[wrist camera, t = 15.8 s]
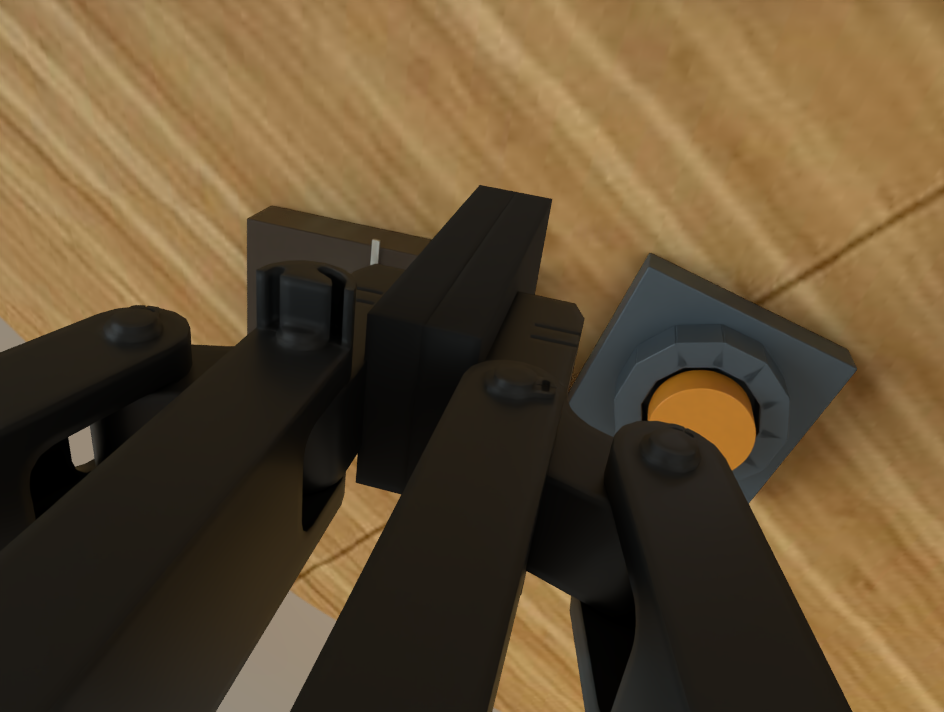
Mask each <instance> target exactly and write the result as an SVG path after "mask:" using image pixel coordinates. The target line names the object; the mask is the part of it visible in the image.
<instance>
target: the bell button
mask: <svg viewBox="0 0 944 712" xmlns="http://www.w3.org/2000/svg"><path fill="white" fill-rule="evenodd" d="M648 421H661V422H666V423H674V424H677V425H681V426H684V428H686V429H687V428H688V429H691V430H693V431H695V432H696V433H698V434H700V435H701V436H703V437H704V438H706V439H707V440H708V441H710V442H711V443H713V444H714V445H715V446H716V447H717V448H718V449H719V451H720V452H721V453H722V454H723V456H724V457H725V458H726V460H727V462H728V464H729V466H730V468H731V470H734V469H735V468H737V467H738V466H739V465H741V464H742V463H743V462H744V461H745V460H746V459H747V457H748V456H749V455H750V453H751V451H752V449H753V447H754V444H755V440H756V427H755V422H754V417H753V411H752V406H751V402H750V400H749V397H748V396H747V394H746V392H745V391H744V390H743V388H742V387H741V386H740V385H739V384H738V383H736V382H735V381H734V380H732V379H731V378H729V377H727V376H725V375H723V374H720V373H717V372H714V371H708V370H691V371H686V372H682V373H679V374H677V375H674V376H672V377H671V378H669V379H667V380H666V381H665V382H663V383H662V384H661V385H660V386H659V387H658V388H657V390H656V391H655V392H654V394H653V396H652V398H651V400H650V403H649V407H648Z"/></svg>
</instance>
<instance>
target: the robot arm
mask: <svg viewBox="0 0 944 712" xmlns="http://www.w3.org/2000/svg"><path fill="white" fill-rule="evenodd" d="M551 203H552V199H549V198H544V197H539V196H534V195H529V194H524V193H518V192H513V191H508V190H503V189H498V188H493V187H487V186H482V185H479V187H478V188H477V189H476V190H475V191H474V192H473V193H472V195H471V196H470V197H469V198H468V199H467V200H466V201H465V202H464V204H463V205H462V206H461V207H460V208H459V209H458V210H457V212H456V213H455V214H454V215H453V216H452V217H451V218H450V220H449V221H448V222H447V223H446V224H445V225H444V226H443V228H442V229H441V230H440V231H439V232H438V233H437V234H436V236H435V237H434V238H433V239H432V240H431V241H430V242H429V244H428V245H427V246H426V247H425V248H424V249H423V250H422V252H421V253H420V254H419V255H418V256H417V257H416V258H415V260H414V261H413V262H412V263H411V264H410V265H409V266H408V268H407V269H406V270H404V269H400V268H395V267H390V266H386V265H381V264H376V263H375V264H372V265H370V266H367V267H364V268H361V269H359V270H356V271H353V272H352V273H351V274H350V273H349V272H347V271H345V270H344V269H342V268H340V267H337V266H334V265H330V264H327V263H323V262H315V261H308V260H292V261H281V262H276V263H271V264H267V265H265V266H263V267H261V268H259V269H257V270H256V314H257V327H256V328H255V329H254V330H253V331H252V332H250V333H249V334H248V335H247V336H246V337H245V338H244V339H242V340H241V341H240V342H239V343H238V344H237V345H236V346H209V345H191V332H190V326H189V324H188V322H187V320H186V319H185V318H184V317H182V316H180V315H179V314H177V313H176V312H173V311H169V310H165V309H161V308H159V307H154V306H147V307H145V305H134V306H131V307H128V308H118V309H114V310H110V311H106V312H103V313H99V314H96V315H94V316H91V317H89V318H86V319H84V320H81V321H79V322H76V323H74V324H71V325H69V326H66V327H64V328H61V329H58V330H56V331H53V332H51V333H48V334H46V335H43V336H41V337H38V338H36V339H33V340H31V341H28V342H26V343H23V344H21V345H18V346H16V347H13V348H11V349H8V350H5V351H3V352H0V712H216V710H217V709H218V707H219V705H220V704H221V702H222V700H223V699H224V697H225V695H226V694H227V692H228V691H229V689H230V687H231V686H232V684H233V682H234V681H235V679H236V677H237V676H238V674H239V672H240V671H241V669H242V667H243V666H244V664H245V662H246V661H247V659H248V658H249V656H250V654H251V653H252V651H253V649H254V648H255V646H256V644H257V643H258V641H259V639H260V638H261V636H262V634H263V633H264V631H265V630H266V628H267V626H268V625H269V623H270V621H271V620H272V618H273V616H274V615H275V613H276V611H277V610H278V608H279V606H280V605H281V603H282V602H283V600H284V598H285V597H286V595H287V593H288V592H289V590H290V588H291V587H292V585H293V583H294V582H295V580H296V578H297V577H298V575H299V573H300V572H301V570H302V569H303V567H304V565H305V564H306V562H307V560H308V559H309V557H310V555H311V554H312V552H313V550H314V549H315V547H316V545H317V544H318V542H319V541H320V539H321V537H322V536H323V534H324V532H325V531H326V529H327V527H328V526H329V524H330V522H331V521H332V519H333V517H334V516H335V514H336V513H337V511H338V509H339V508H340V506H341V504H342V500H343V497H344V493H345V476H346V470H347V469H348V467H349V466H350V464H351V463H352V461H353V460H354V458H355V456H356V455H357V453H358V458H357V472H356V483H359V484H363V485H367V486H371V487H375V488H379V489H383V490H387V491H390V492H394V493H398V494H402V495H401V497H400V499H399V500H398V502H397V504H396V506H395V508H394V510H393V512H392V514H391V516H390V518H389V520H388V522H387V524H386V526H385V528H384V530H383V532H382V534H381V536H380V537H379V539H378V541H377V543H376V545H375V547H374V549H373V551H372V553H371V555H370V557H369V559H368V561H367V563H366V565H365V567H364V569H363V571H362V573H361V574H360V576H359V578H358V580H357V582H356V584H355V586H354V588H353V590H352V592H351V594H350V596H349V598H348V600H347V602H346V604H345V606H344V608H343V610H342V611H341V613H340V615H339V617H338V619H337V621H336V623H335V626H334V627H333V629H332V631H331V633H330V635H329V637H328V639H327V641H326V643H325V645H324V647H323V649H322V650H321V652H320V654H319V656H318V658H317V660H316V662H315V664H314V666H313V668H312V670H311V672H310V674H309V676H308V678H307V680H306V682H305V684H304V685H303V687H302V689H301V691H300V693H299V695H298V697H297V699H296V701H295V703H294V705H293V707H292V709H291V711H290V712H492V710H493V706H494V702H495V698H496V694H497V690H498V685H499V681H500V677H501V673H502V669H503V665H504V661H505V656H506V652H507V648H508V644H509V640H510V636H511V632H512V627H513V623H514V619H515V615H516V611H517V607H518V603H519V598H520V595H521V593H522V589H523V584H524V580H525V575H526V571H528V572H530V573H531V574H533V575H535V576H537V577H539V578H540V579H542V580H544V581H546V582H548V583H549V584H551V585H553V586H555V587H556V588H558V589H560V590H562V591H564V592H565V593H567V594H569V595H571V603H570V616H571V622H572V629H573V635H574V642H575V648H576V655H577V661H578V668H579V674H580V681H581V687H582V694H583V700H584V707H585V712H852V710H851V708H850V706H849V704H848V702H847V700H846V698H845V696H844V694H843V692H842V690H841V688H840V686H839V684H838V682H837V680H836V678H835V676H834V674H833V672H832V670H831V668H830V666H829V664H828V662H827V660H826V658H825V656H824V654H823V652H822V650H821V648H820V646H819V644H818V642H817V640H816V638H815V636H814V634H813V632H812V630H811V628H810V626H809V624H808V622H807V620H806V618H805V616H804V614H803V612H802V610H801V608H800V606H799V604H798V602H797V600H796V598H795V596H794V594H793V592H792V590H791V588H790V586H789V584H788V582H787V580H786V578H785V576H784V574H783V572H782V570H781V568H780V566H779V564H778V562H777V560H776V558H775V556H774V554H773V552H772V550H771V548H770V546H769V544H768V542H767V540H766V538H765V536H764V534H763V532H762V530H761V528H760V526H759V524H758V522H757V520H756V518H755V516H754V514H753V512H752V510H751V508H750V506H749V504H748V502H747V500H746V498H745V496H744V494H743V492H742V490H741V488H740V486H739V484H738V482H737V480H736V478H735V476H734V474H733V472H732V470H731V468H730V466H729V464H728V462H727V460H726V458H725V457H724V456H723V454H722V453H721V452H720V451H719V449H718V448H717V447H716V446H715V445H714V444H713V443H711V442H710V441H708V440H707V439H706V438H704V437H703V436H701V435H700V434H698V433H696V432H695V431H693V430H691V429H688V428H687V429H686V428H684V426H681V425H677V424H674V423H666V422H661V421H636V422H633V423H630V424H627V425H624V426H622V427H621V428H620V429H619V430H618V431H617V432H616V434H615V435H614V437H613V436H610V435H608V434H606V433H604V432H602V431H600V430H598V429H596V428H594V427H592V426H590V425H589V424H587V423H586V422H585V421H584V420H582V419H581V418H580V417H578V416H577V414H576V413H575V412H574V411H573V410H572V409H571V407H570V405H569V403H568V400H567V395H568V391H569V386H570V382H571V377H572V373H573V368H574V364H575V359H576V355H577V350H578V346H579V341H580V337H581V333H582V328H583V324H584V317H583V315H582V314H581V312H580V310H579V309H578V307H577V305H576V304H575V303H570V302H566V301H561V300H556V299H551V298H547V297H542V296H537V295H535V290H536V284H537V279H538V274H539V268H540V263H541V257H542V252H543V246H544V241H545V236H546V230H547V225H548V219H549V214H550V209H551ZM88 426H90V429H91V437H92V443H93V450H94V458H95V459H93V460H91V461H89V462H88V463H86V464H83V465H79V466H76V467H75V466H74V464H73V462H72V459H71V452H70V446H69V440H68V437H69V436H71V435H73V434H74V433H77V432H78V431H80V430H82V429H84V428H86V427H88Z"/></svg>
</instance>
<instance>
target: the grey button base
mask: <svg viewBox="0 0 944 712" xmlns="http://www.w3.org/2000/svg"><path fill="white" fill-rule="evenodd" d="M691 370H708V371H714V372H717V373H720V374H723V375H725V376H727V377H729V378H731V379H732V380H734V381H735V382H736V383H738V384H739V385H740V386H741V387H742V388H743V390H744V391H745V392H746V394H747V396H748V397H749V400H750V402H751V406H752V411H753V417H754V422H755V427H756V440H755V444H754V447H753V449H752V451H751V453H750V455H749V456H748V457H747V459H746V460H745V461H744V462H743V463H742V464H741V465H739V466H738V467H737V468H735V469H734V470H732V472H733V474H734V476H735V478H736V480H737V482H738V484H739V486H740V488H741V490H742V492H743V494H744V496H745V498H746V500H747V502H748V504H749V503H750V501H751V500H752V499H753V498H754V496H755V495H756V494H757V493H758V491H759V490H760V489H761V488H762V486H763V485H764V484H765V483H766V482H767V480H768V479H769V478H770V477H771V475H772V474H773V473H774V472H775V470H776V469H777V468H778V467H779V465H780V464H781V463H782V462H783V461H784V459H785V458H786V457H787V456H788V454H789V453H790V452H791V451H792V449H793V448H794V447H795V446H796V444H797V443H798V442H799V441H800V440H801V438H802V437H803V436H804V435H805V433H806V432H807V431H808V430H809V428H810V427H811V426H812V425H813V424H814V422H815V421H816V420H817V419H818V417H819V416H820V415H821V414H822V412H823V411H824V410H825V409H826V407H827V406H828V405H829V404H830V403H831V401H832V400H833V399H834V398H835V396H836V395H837V394H838V393H839V391H840V390H841V389H842V388H843V386H844V385H845V384H846V383H847V382H848V380H849V379H850V378H851V377H852V375H853V374H854V373H855V372H856V370H857V367H856V365H855V363H854V361H853V359H852V357H851V355H850V353H849V351H848V350H847V349H845V348H843V347H841V346H839V345H837V344H835V343H833V342H831V341H829V340H827V339H825V338H823V337H821V336H819V335H817V334H815V333H813V332H811V331H809V330H807V329H805V328H803V327H801V326H799V325H797V324H794V323H792V322H790V321H788V320H786V319H784V318H782V317H780V316H778V315H776V314H774V313H772V312H770V311H768V310H766V309H764V308H762V307H760V306H758V305H756V304H754V303H752V302H750V301H748V300H746V299H744V298H742V297H740V296H738V295H735V294H733V293H731V292H729V291H727V290H725V289H723V288H721V287H719V286H717V285H715V284H713V283H711V282H709V281H707V280H705V279H703V278H701V277H699V276H697V275H695V274H693V273H691V272H689V271H687V270H685V269H683V268H681V267H678V266H676V265H674V264H672V263H670V262H668V261H666V260H664V259H662V258H660V257H658V256H656V255H654V254H652V253H649V255H648V256H647V258H646V260H645V261H644V263H643V265H642V267H641V268H640V270H639V272H638V274H637V275H636V277H635V279H634V280H633V282H632V284H631V286H630V287H629V289H628V291H627V292H626V294H625V296H624V298H623V299H622V301H621V303H620V305H619V306H618V308H617V310H616V311H615V313H614V315H613V317H612V318H611V320H610V322H609V323H608V325H607V327H606V329H605V330H604V332H603V334H602V336H601V337H600V339H599V341H598V342H597V344H596V346H595V348H594V349H593V351H592V353H591V355H590V356H589V358H588V360H587V361H586V363H585V365H584V367H583V368H582V370H581V372H580V373H579V375H578V377H577V379H576V380H575V382H574V384H573V386H572V387H571V389H570V391H569V392H568V395H567V400H568V403H569V405H570V407H571V409H572V410H573V411H574V412H575V413H576V414H577V416H578V417H580V418H581V419H582V420H584V421H585V422H586V423H587V424H589V425H590V426H592V427H594V428H596V429H598V430H600V431H602V432H604V433H606V434H608V435H610V436H613V437H614V435H615V434H616V432H617V431H618V430H619V429H620V428H621V427H622V426H624V425H627V424H630V423H633V422H636V421H648V407H649V403H650V400H651V398H652V396H653V394H654V392H655V391H656V390H657V388H658V387H659V386H660V385H661V384H662V383H663V382H665V381H666V380H667V379H669V378H671V377H672V376H674V375H677V374H679V373H682V372H686V371H691Z"/></svg>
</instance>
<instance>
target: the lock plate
mask: <svg viewBox="0 0 944 712" xmlns="http://www.w3.org/2000/svg"><path fill="white" fill-rule="evenodd" d="M430 241H431V240H430V239H425V238H421V237H416V236H411V235H407V234H402V233H397V232H393V231H388V230H383V229H379V228H374V227H369V226H364V225H360V224H355V223H350V222H346V221H341V220H336V219H332V218H327V217H322V216H318V215H313V214H308V213H304V212H299V211H294V210H289V209H285V208H280V207H275V206H270V207H268V208H266V209H264V210H262V211H260V212H259V213H257V214H255V215H253V216H251V217H249V218H248V219H247V335H248V334H249V333H250V332H252V331H253V330H254V329H255V328H256V327H257V314H256V270H257V269H259V268H261V267H263V266H265V265H267V264H271V263H276V262H281V261H292V260H308V261H315V262H323V263H327V264H330V265H334V266H337V267H340V268H342V269H344V270H345V271H347V272H349V273H350V274H351V273H352V272H353V271H356V270H359V269H361V268H364V267H367V266H370V265H372V264H375V263H376V264H381V265H386V266H390V267H395V268H400V269H404V270H406V269H407V268H408V266H409V265H410V264H411V263H412V262H413V261H414V260H415V258H416V257H417V256H418V255H419V254H420V253H421V252H422V250H423V249H424V248H425V247H426V246H427V245H428V244H429V242H430Z"/></svg>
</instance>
